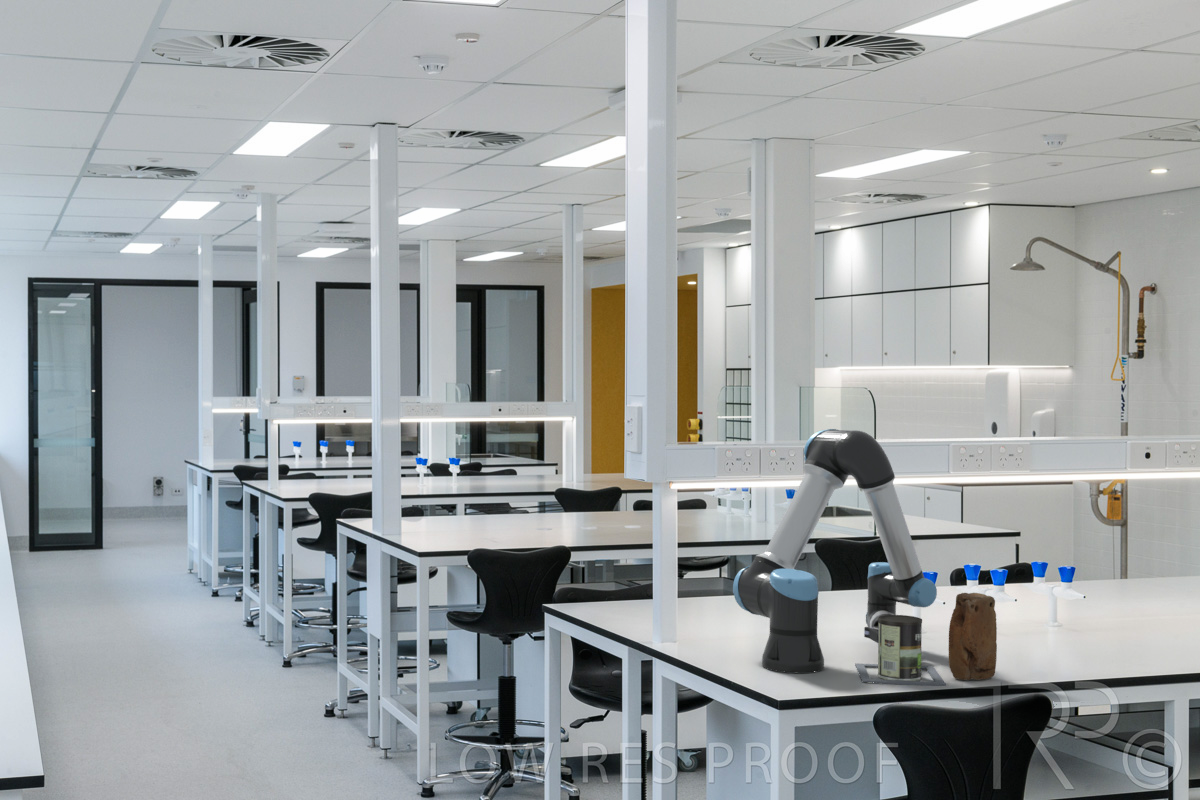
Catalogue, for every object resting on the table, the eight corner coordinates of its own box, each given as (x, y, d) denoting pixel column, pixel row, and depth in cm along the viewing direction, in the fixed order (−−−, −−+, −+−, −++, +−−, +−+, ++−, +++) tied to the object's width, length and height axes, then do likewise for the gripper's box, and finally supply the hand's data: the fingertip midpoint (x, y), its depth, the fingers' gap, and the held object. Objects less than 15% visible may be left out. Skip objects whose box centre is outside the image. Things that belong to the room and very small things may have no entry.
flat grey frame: (862, 682, 283) (862, 680, 283) (855, 665, 302) (855, 663, 302) (946, 686, 281) (946, 683, 281) (933, 668, 300) (933, 666, 300)
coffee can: (922, 674, 293) (923, 616, 293) (920, 683, 283) (921, 623, 283) (879, 670, 296) (879, 613, 296) (875, 680, 286) (876, 620, 286)
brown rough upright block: (975, 672, 295) (976, 590, 295) (999, 679, 289) (1000, 595, 289) (943, 677, 290) (944, 593, 290) (967, 683, 283) (968, 598, 283)
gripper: (911, 642, 318) (924, 661, 294) (860, 641, 319) (870, 659, 296) (911, 614, 318) (925, 631, 294) (860, 612, 319) (870, 629, 296)
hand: (897, 645), depth 295 cm, fingers closed
